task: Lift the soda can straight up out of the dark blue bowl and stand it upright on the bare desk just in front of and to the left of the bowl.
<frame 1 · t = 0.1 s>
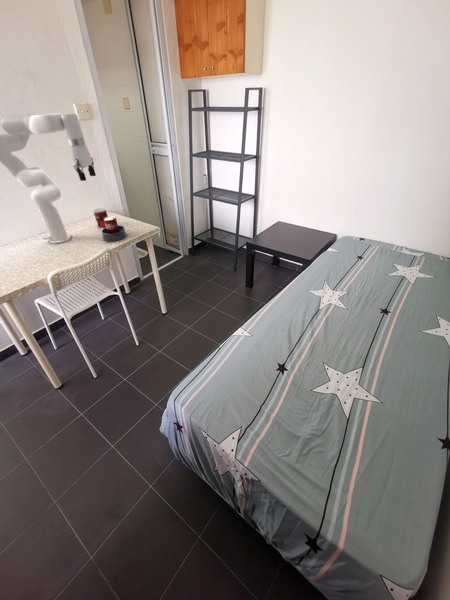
hand: (88, 178, 154), 37 cm above the table, tool pointing down, fingers open, 9 cm apart
soda can: (114, 236, 181), resting on dark blue bowl
canned food: (104, 225, 197), on the table
dark blue bowl: (115, 237, 181), on the table
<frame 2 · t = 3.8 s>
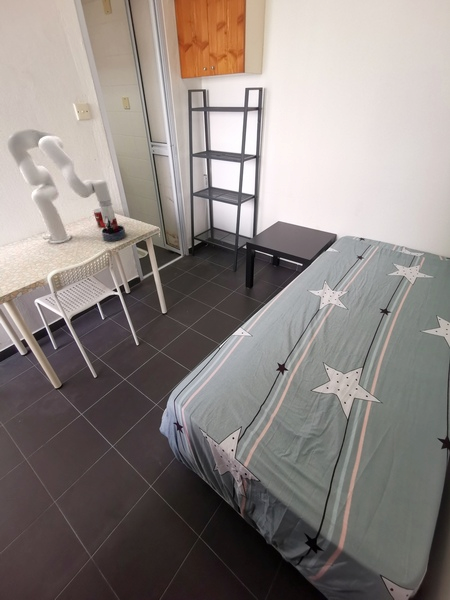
hand: (113, 230, 178), 4 cm above the table, tool pointing down, fingers closed on soda can, 7 cm apart
soda can: (114, 236, 181), resting on dark blue bowl, touching gripper
everything else where it was.
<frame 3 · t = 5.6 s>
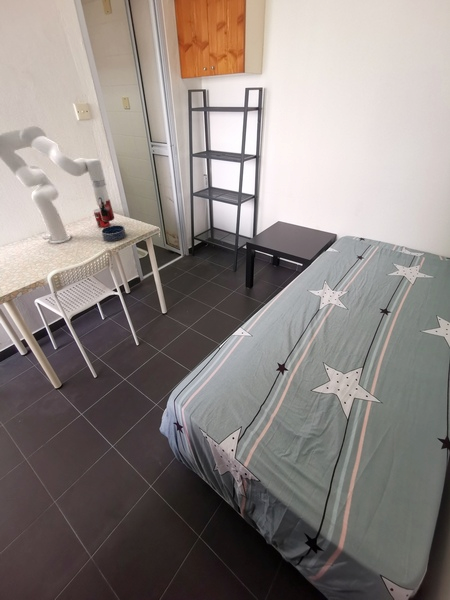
hand: (106, 213, 171), 16 cm above the table, tool pointing down, fingers closed on soda can, 7 cm apart
soda can: (108, 219, 174), point 11 cm above the table, touching gripper
everything else where it was.
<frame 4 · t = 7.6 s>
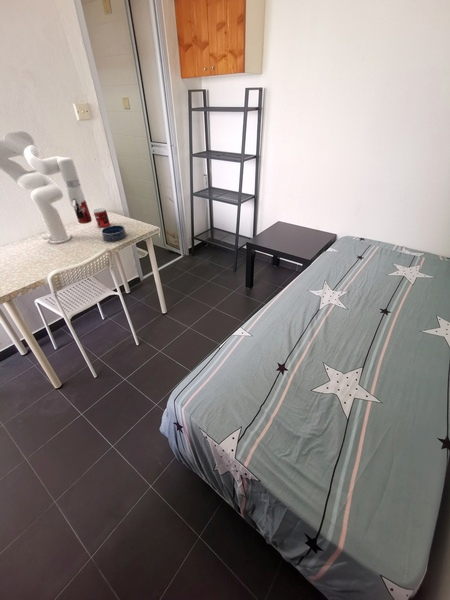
hand: (83, 215, 162), 18 cm above the table, tool pointing down, fingers closed on soda can, 7 cm apart
soda can: (85, 222, 165), point 14 cm above the table, touching gripper
everything else where it was.
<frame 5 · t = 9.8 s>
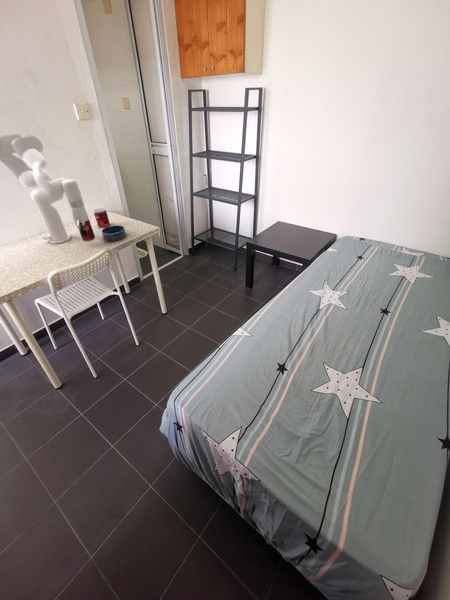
hand: (86, 233, 168), 8 cm above the table, tool pointing down, fingers closed on soda can, 7 cm apart
soda can: (89, 239, 170), point 4 cm above the table, touching gripper
everything else where it was.
when the fingers open (4 cm above the table, at t = 11.4 s): soda can stays where it is, on the table.
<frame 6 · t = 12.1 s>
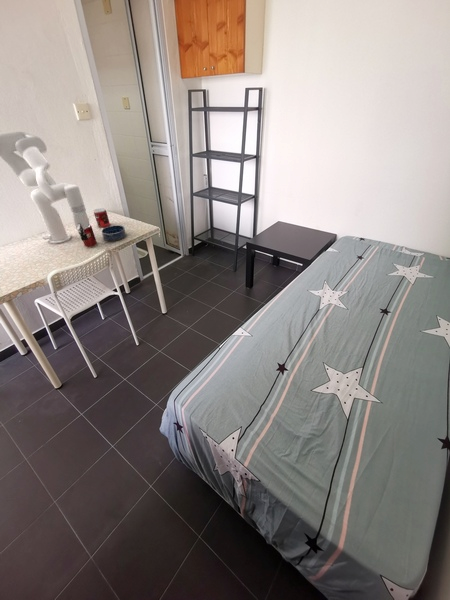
hand: (87, 236, 169), 5 cm above the table, tool pointing down, fingers open, 9 cm apart
soda can: (91, 245, 173), on the table
everything else where it was.
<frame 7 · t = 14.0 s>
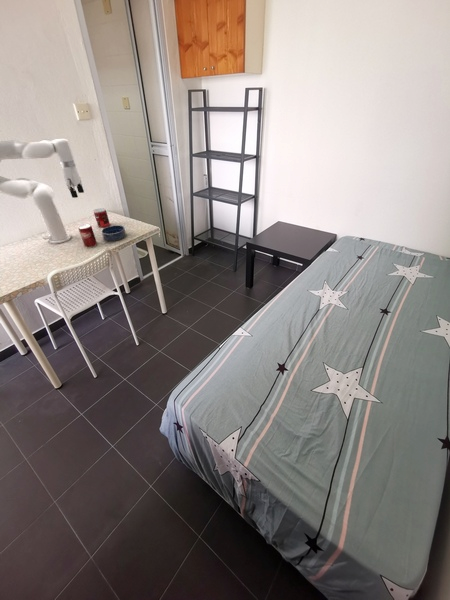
hand: (78, 195, 170), 25 cm above the table, tool pointing down, fingers open, 9 cm apart
nothing on the table moved.
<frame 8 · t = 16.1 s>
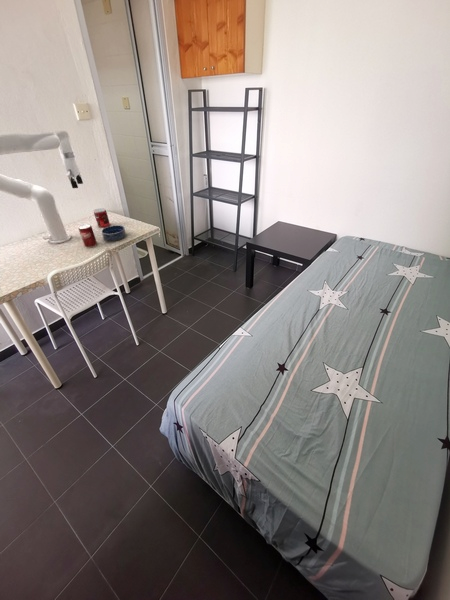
hand: (78, 185, 176), 28 cm above the table, tool pointing down, fingers open, 9 cm apart
nothing on the table moved.
at the end: soda can inside the target area (0.1 cm from its centre), on the table; soda can tilted 0°; soda can touching table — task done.
